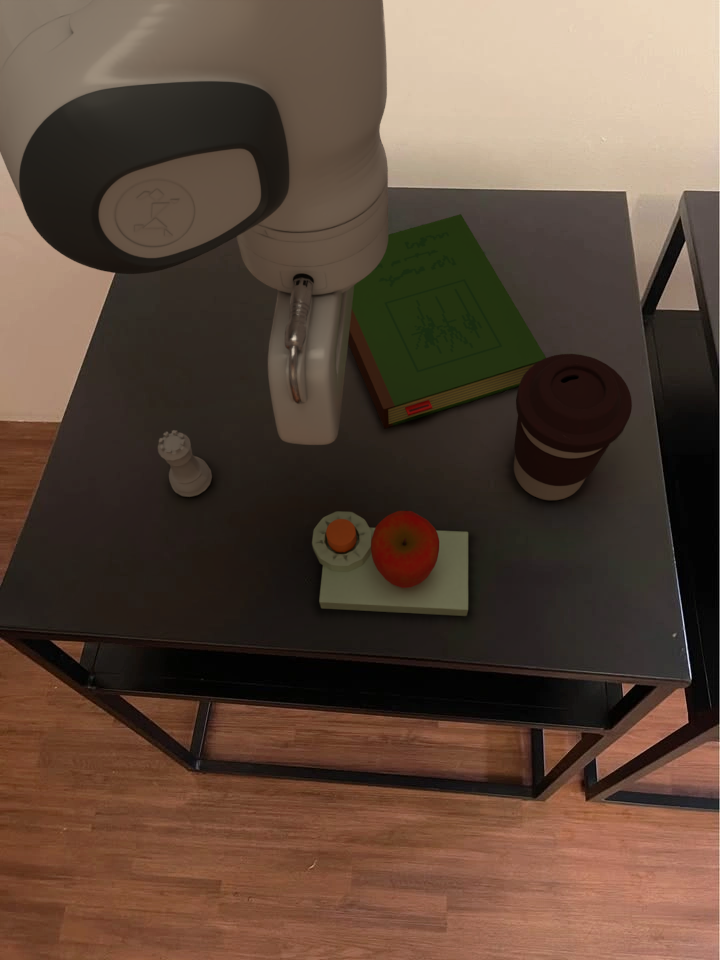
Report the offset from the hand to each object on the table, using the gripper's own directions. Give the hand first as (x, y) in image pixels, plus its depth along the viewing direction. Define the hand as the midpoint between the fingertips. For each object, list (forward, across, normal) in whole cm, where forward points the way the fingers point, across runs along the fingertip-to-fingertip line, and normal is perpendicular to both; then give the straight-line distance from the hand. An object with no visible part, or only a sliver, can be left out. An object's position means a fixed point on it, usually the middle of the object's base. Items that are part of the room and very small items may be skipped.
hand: (330, 367), depth 53 cm
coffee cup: (+24, +6, -21) cm, 32 cm away
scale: (+24, -7, -5) cm, 26 cm away
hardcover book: (+24, +25, -7) cm, 35 cm away
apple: (+22, -7, -6) cm, 24 cm away
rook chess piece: (+25, +3, +17) cm, 30 cm away
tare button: (+21, -5, 0) cm, 22 cm away
